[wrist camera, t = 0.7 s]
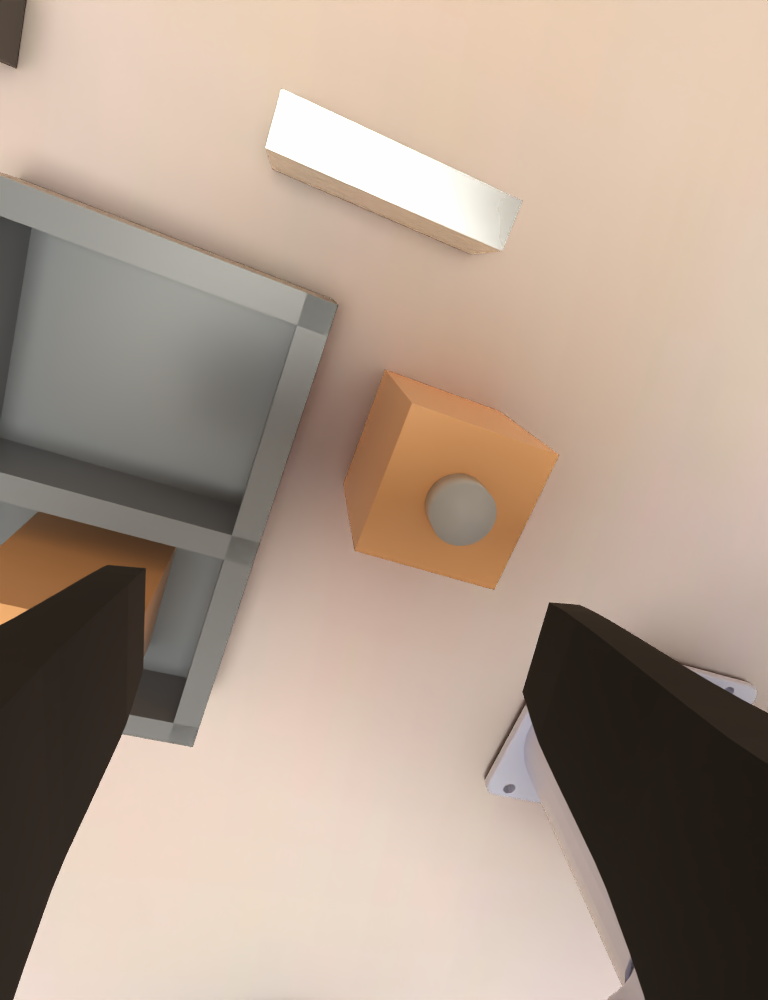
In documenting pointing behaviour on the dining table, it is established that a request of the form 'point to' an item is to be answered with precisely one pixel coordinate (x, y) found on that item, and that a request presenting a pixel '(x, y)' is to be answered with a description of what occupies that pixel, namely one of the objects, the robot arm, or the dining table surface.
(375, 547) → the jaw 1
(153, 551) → the orange block with knob
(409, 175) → the bar
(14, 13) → the keeper
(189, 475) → the housing
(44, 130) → the dining table surface
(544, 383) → the dining table surface
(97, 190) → the dining table surface
